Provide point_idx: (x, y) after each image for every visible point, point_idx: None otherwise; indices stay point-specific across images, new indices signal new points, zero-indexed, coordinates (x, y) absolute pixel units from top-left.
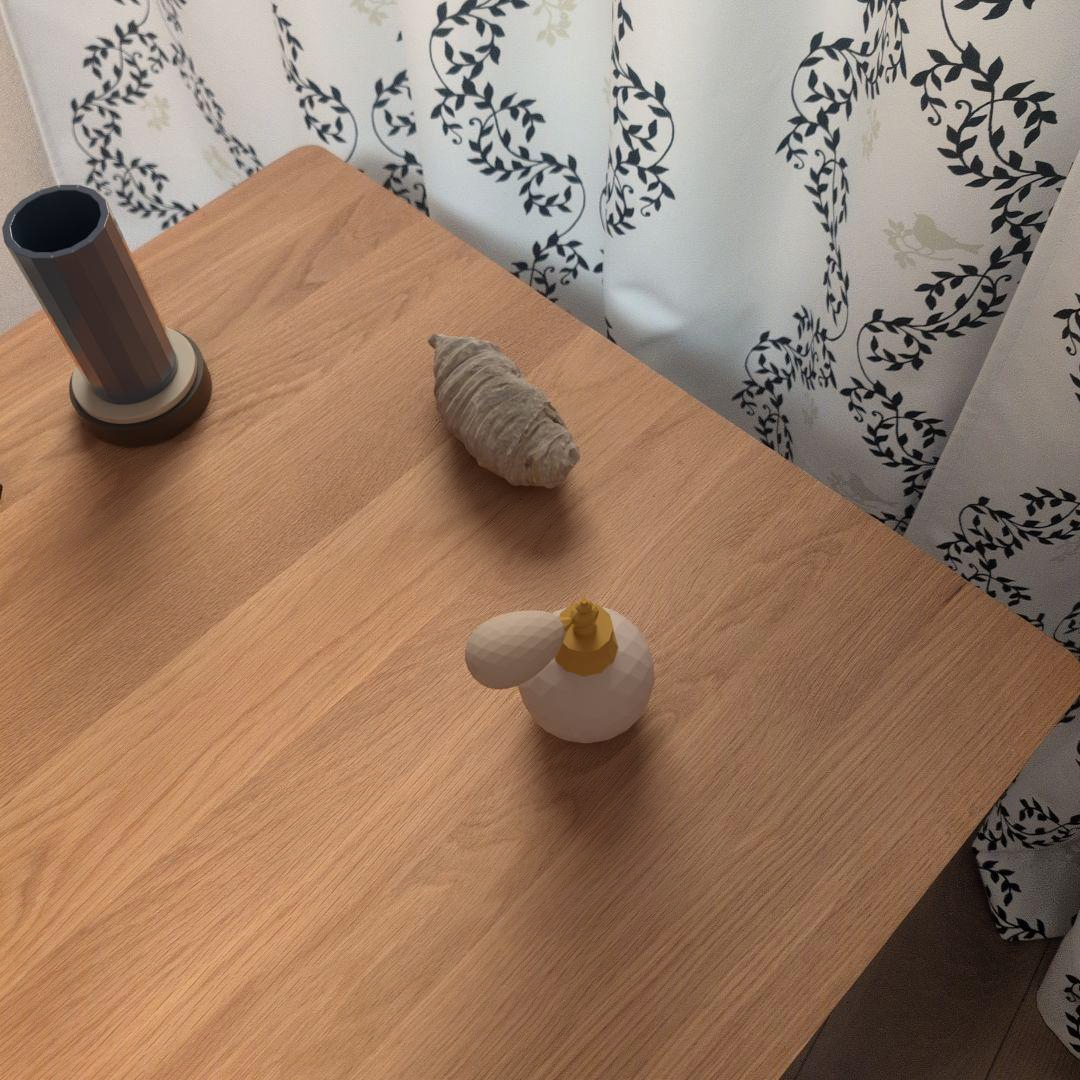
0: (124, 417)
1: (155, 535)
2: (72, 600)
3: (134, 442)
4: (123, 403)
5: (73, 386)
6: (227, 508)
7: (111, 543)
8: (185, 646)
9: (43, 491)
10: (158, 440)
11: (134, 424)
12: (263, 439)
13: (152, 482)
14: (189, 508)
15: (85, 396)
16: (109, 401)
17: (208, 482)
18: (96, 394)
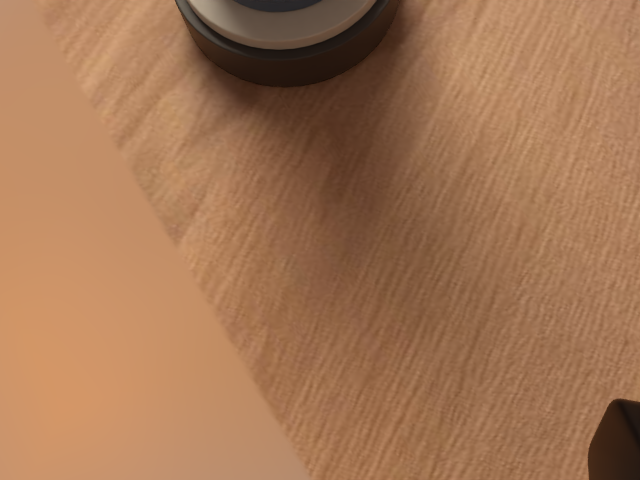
0: (321, 30)
1: (454, 219)
2: (385, 380)
3: (329, 71)
4: (305, 5)
5: (194, 2)
6: (544, 135)
7: (389, 257)
8: None
9: (218, 201)
10: (362, 56)
11: (334, 38)
12: (526, 2)
13: (391, 130)
14: (481, 155)
15: (227, 14)
16: (279, 9)
17: (484, 101)
18: (250, 3)
